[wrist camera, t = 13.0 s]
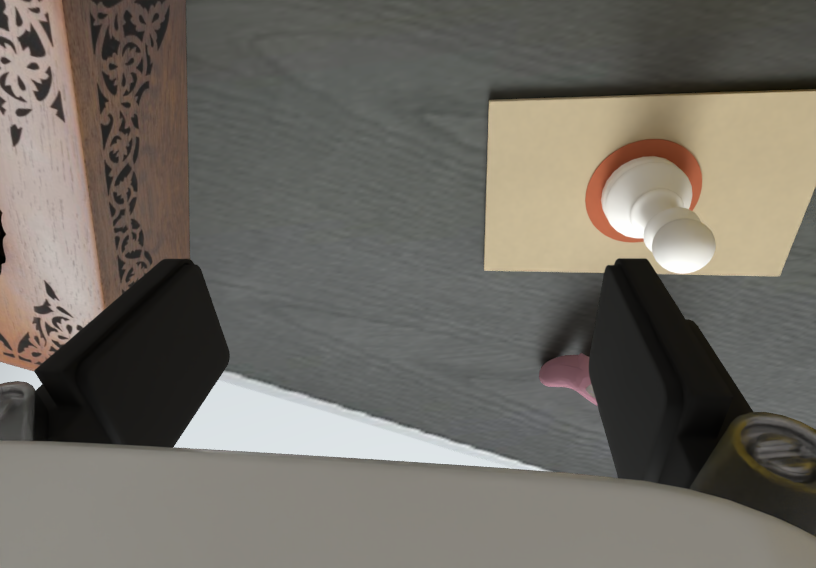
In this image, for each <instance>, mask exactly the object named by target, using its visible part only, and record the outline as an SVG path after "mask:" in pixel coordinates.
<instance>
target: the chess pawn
mask: <svg viewBox="0 0 816 568" xmlns="http://www.w3.org/2000/svg"><path fill="white" fill-rule="evenodd" d="M691 200H692V186H691V183H690V181H689V178H688V177H687V175H686V174H685V173H684V172H683V171H682V170H681V169H679V168H678V167H677V166H676V165H675V164H674V163H672V162H670V161H669V160H667V159H665V158H660V157H656V156H648V157H640V158H637V159H633V160H631V161H629V162H627V163H625V164H623V165H621V166H620V167H619V168H618V169H617V170H615V171H614V172H613V173H612V175H611V176H610V177H609V179H608V180H607V181H606V183H605V186H604V188H603V190H602V197H601V203H602V209H603V211H604V213H605V215H606V217H607V219H608V221H609V223H610V225H611V226H612V227H613V228H614V229H615V230H616V231H617V232H619V233H621V234H623V235H625V236H628V237H632V238H644V243H645V245H646V247H647V248H648V249H649V250H650V251H651V252H653V255H654V258H655V260H656V261H657V262H658V263H659V264H660V265H661V266H662V267H663V268H664V269H666V270H668V271H670V272H674V273H681V274H686V273H691V272H695V271H697V270H700V269H701V268H703V267H704V266H705V265H706V264H707V263H708V262H709V261H710V260H711V258H712V257H713V255H714V252H715V249H716V242H715V238H714V235H713V233H712V231H711V230H710V229H709V228H708V227H707V226H706V225H705V224H703V223H702V222H701V221H700V219H699V217H698V216H697V215H696V214H695V212H693V211H691V210H689V207H690V204H691Z"/></svg>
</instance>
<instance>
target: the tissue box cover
mask: <svg viewBox="0 0 816 568" xmlns="http://www.w3.org/2000/svg"><path fill="white" fill-rule="evenodd" d="M163 259H190V243H189V182H188V121H187V60H186V0H0V362H3V363H6V364H10V365H14V366H17V367H20V368H24V369H28V370H32V371H34V370H35V369H36V368H38V367H39V366H40V365H41V364H42V363H43V362H44V361H46V360H47V359H48V358H49V357H50V356H51V355H53V354H54V353H55V352H56V351H57V350H58V349H59V348H61V347H62V346H63V345H64V344H65V343H66V342H68V341H69V340H70V339H71V338H72V337H73V336H74V335H76V334H77V333H78V332H79V331H80V330H81V329H83V328H84V327H85V326H86V325H87V324H88V323H90V322H91V321H92V320H93V319H94V318H95V317H96V316H98V315H99V314H100V313H101V312H102V311H103V310H105V309H106V308H107V307H108V306H109V305H110V304H111V303H113V302H114V301H115V300H116V299H117V298H118V297H120V296H121V295H122V294H123V293H124V292H125V291H126V290H128V289H129V288H130V287H131V286H132V285H133V284H135V283H136V282H137V281H138V280H139V279H140V278H142V277H143V276H144V275H145V274H146V273H147V272H148V271H150V270H151V269H152V268H153V267H154V266H155V265H157V264H158V263H159V262H160V261H161V260H163Z"/></svg>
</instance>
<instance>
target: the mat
mask: <svg viewBox="0 0 816 568" xmlns="http://www.w3.org/2000/svg"><path fill="white" fill-rule="evenodd" d="M648 156H656V157H660V158H665V159H667V160H669V161H670V162H672V163H674V164H675V165H676V166H677V167H678V168H679V169H681V170H682V171H683V172H684V173H685V174H686V175H687V177H688V178H689V181H690V183H691V186H692V200H691V204H690V207H689V210H691V211H693V212H695V214H696V215H697V216H698V217H699V219H700V221H701V222H702V223H703V224H705V225H706V226H707V227H708V228H709V229H710V230H711V231H712V233H713V235H714V238H715V242H716V249H715V252H714V255H713V257H712V258H711V260H710V261H709V262H708V263H707V264H706V265H705V266H704V267H703V268H701V269H700V270H697V271H695V272H691V273H686V274H687V275H738V276H780V274H781V272H782V269H783V267H784V264H785V262H786V259H787V257H788V254H789V252H790V249H791V247H792V244H793V242H794V239H795V237H796V234H797V232H798V229H799V227H800V224H801V222H802V219H803V217H804V214H805V212H806V209H807V207H808V204H809V202H810V199H811V197H812V194H813V192H814V189H815V187H816V89H801V90H771V91H741V92H711V93H681V94H651V95H621V96H592V97H562V98H532V99H502V100H489V114H488V148H487V181H486V215H485V248H484V270H485V271H535V272H586V273H604V271H605V268H606V266H607V265H614V263H615V261H616V260H617V259H618V258H645V259H647V260H648V261H649V262H650V264H651V265H652V267H653V268H654V270H655V272H656V273H657V274H681V273H674V272H670V271H668V270H666V269H664V268H663V267H662V266H661V265H660V264H659V263H658V262H657V261H656V260H655V258H654V255H653V252H651V251H650V250H649V249H648V248H647V247H646V245H645V243H644V238H632V237H628V236H625V235H623V234H621V233H619V232H617V231H616V230H615V229H614V228H613V227H612V226H611V225H610V223H609V221H608V219H607V217H606V215H605V213H604V211H603V209H602V203H601V197H602V190H603V188H604V186H605V183H606V181H607V180H608V179H609V177H610V176H611V175H612V173H613V172H614V171H615V170H617V169H618V168H619V167H620V166H621V165H623V164H625V163H627V162H629V161H631V160H633V159H637V158H640V157H648Z"/></svg>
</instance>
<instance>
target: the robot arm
mask: <svg viewBox="0 0 816 568" xmlns="http://www.w3.org/2000/svg"><path fill="white" fill-rule="evenodd" d="M229 357H230V356H229V349H228V346H227V344H226V341H225V338H224V335H223V332H222V329H221V326H220V323H219V320H218V317H217V315H216V312H215V309H214V306H213V303H212V300H211V297H210V294H209V291H208V289H207V286H206V283H205V280H204V277H203V274H202V271H201V269H200V267H199V266H198V265H194V263H193V262H192V261H191V260H190V259H163V260H161V261H160V262H159V263H158V264H157V265H155V266H154V267H153V268H152V269H151V270H150V271H148V272H147V273H146V274H145V275H144V276H143V277H142V278H140V279H139V280H138V281H137V282H136V283H135V284H133V285H132V286H131V287H130V288H129V289H128V290H126V291H125V292H124V293H123V294H122V295H121V296H120V297H118V298H117V299H116V300H115V301H114V302H113V303H111V304H110V305H109V306H108V307H107V308H106V309H105V310H103V311H102V312H101V313H100V314H99V315H98V316H96V317H95V318H94V319H93V320H92V321H91V322H90V323H88V324H87V325H86V326H85V327H84V328H83V329H81V330H80V331H79V332H78V333H77V334H76V335H74V336H73V337H72V338H71V339H70V340H69V341H68V342H66V343H65V344H64V345H63V346H62V347H61V348H59V349H58V350H57V351H56V352H55V353H54V354H53V355H51V356H50V357H49V358H48V359H47V360H46V361H44V362H43V363H42V364H41V365H40V366H39V367H38V368H36V369H35V370H34V372H35V373H36V374H37V376H38V378H39V379H40V381H41V382H42V385H41V386H40V387H39V388H38V389H37V390H36V391H35V389H34V388H33V386H32V385H30V384H29V383H27V382H19V381H15V382H7V383H3V384H0V568H816V430H815V429H813V428H811V427H810V426H808V425H806V424H804V423H802V422H800V421H797V420H794V419H791V418H789V417H786V416H783V415H778V414H773V413H767V412H753V411H752V409H751V408H750V406H749V404H748V403H747V401H746V400H745V398H744V397H743V395H742V394H741V392H740V391H739V389H738V387H737V386H736V384H735V383H734V381H733V380H732V378H731V377H730V375H729V374H728V372H727V371H726V369H725V367H724V366H723V364H722V363H721V361H720V360H719V358H718V357H717V355H716V354H715V352H714V351H713V349H712V347H711V346H710V344H709V343H708V341H707V340H706V338H705V337H704V335H703V334H702V332H701V331H700V329H699V327H698V326H697V325H696V324H695V323H694V322H693V321H691V320H685V318H684V316H683V315H682V313H681V312H680V310H679V308H678V307H677V305H676V304H675V302H674V300H673V299H672V297H671V296H670V294H669V292H668V291H667V289H666V288H665V286H664V284H663V283H662V281H661V280H660V278H659V276H658V275H657V273H656V272H655V270H654V268H653V267H652V265H651V264H650V262H649V261H648V260H647V259H645V258H618V259H617V260H616V261H615V263H614V265H607V266H606V268H605V271H604V277H603V283H602V288H601V294H600V300H599V306H598V311H597V317H596V323H595V329H594V334H593V340H592V346H591V352H590V358H589V377H590V381H591V384H592V388H593V391H594V395H595V398H596V402H597V405H598V409H599V412H600V416H601V419H602V423H603V426H604V429H605V433H606V436H607V440H608V443H609V447H610V450H611V454H612V457H613V461H614V464H615V468H616V471H617V475H618V478H611V477H603V476H594V475H583V474H572V473H561V472H547V471H533V470H520V469H508V468H494V467H479V466H464V465H449V464H434V463H418V462H404V461H389V460H388V461H387V460H373V459H357V458H341V457H324V456H309V455H293V454H276V453H259V452H242V451H226V450H208V449H190V448H173V447H174V445H175V444H176V442H177V441H178V439H179V438H180V436H181V435H182V433H183V432H184V430H185V429H186V427H187V426H188V424H189V423H190V421H191V420H192V418H193V416H194V415H195V414H196V412H197V411H198V409H199V407H200V406H201V404H202V403H203V402H204V400H205V398H206V397H207V395H208V394H209V392H210V391H211V389H212V388H213V386H214V385H215V383H216V382H217V380H218V379H219V377H220V376H221V374H222V373H223V371H224V370H225V368H226V367H227V365H228V362H229Z"/></svg>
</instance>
